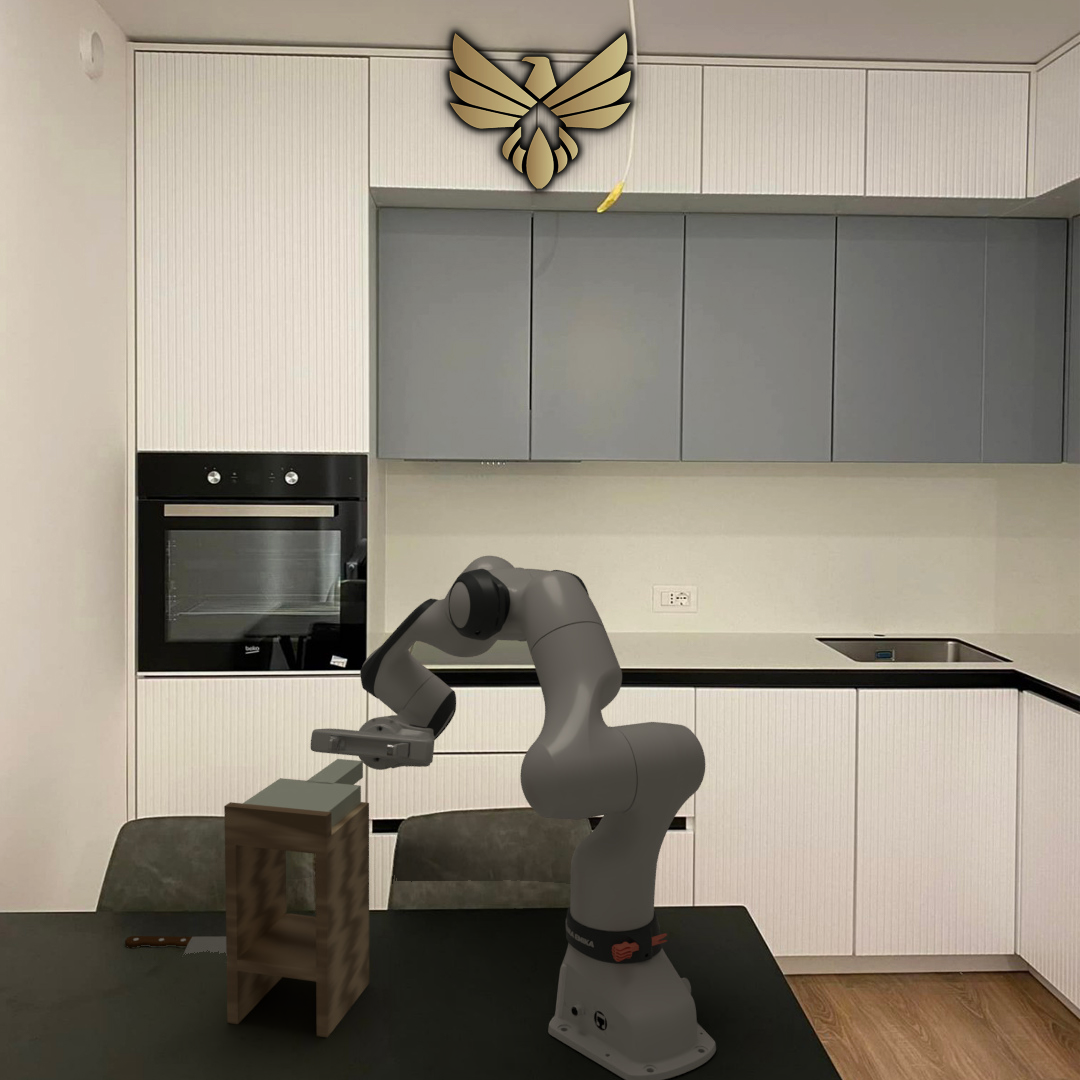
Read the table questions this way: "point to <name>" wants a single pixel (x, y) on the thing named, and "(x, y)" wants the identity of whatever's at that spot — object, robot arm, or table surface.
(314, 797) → the grey paddle board
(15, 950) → the table surface
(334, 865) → the rack
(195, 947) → the kitchen cleaver
